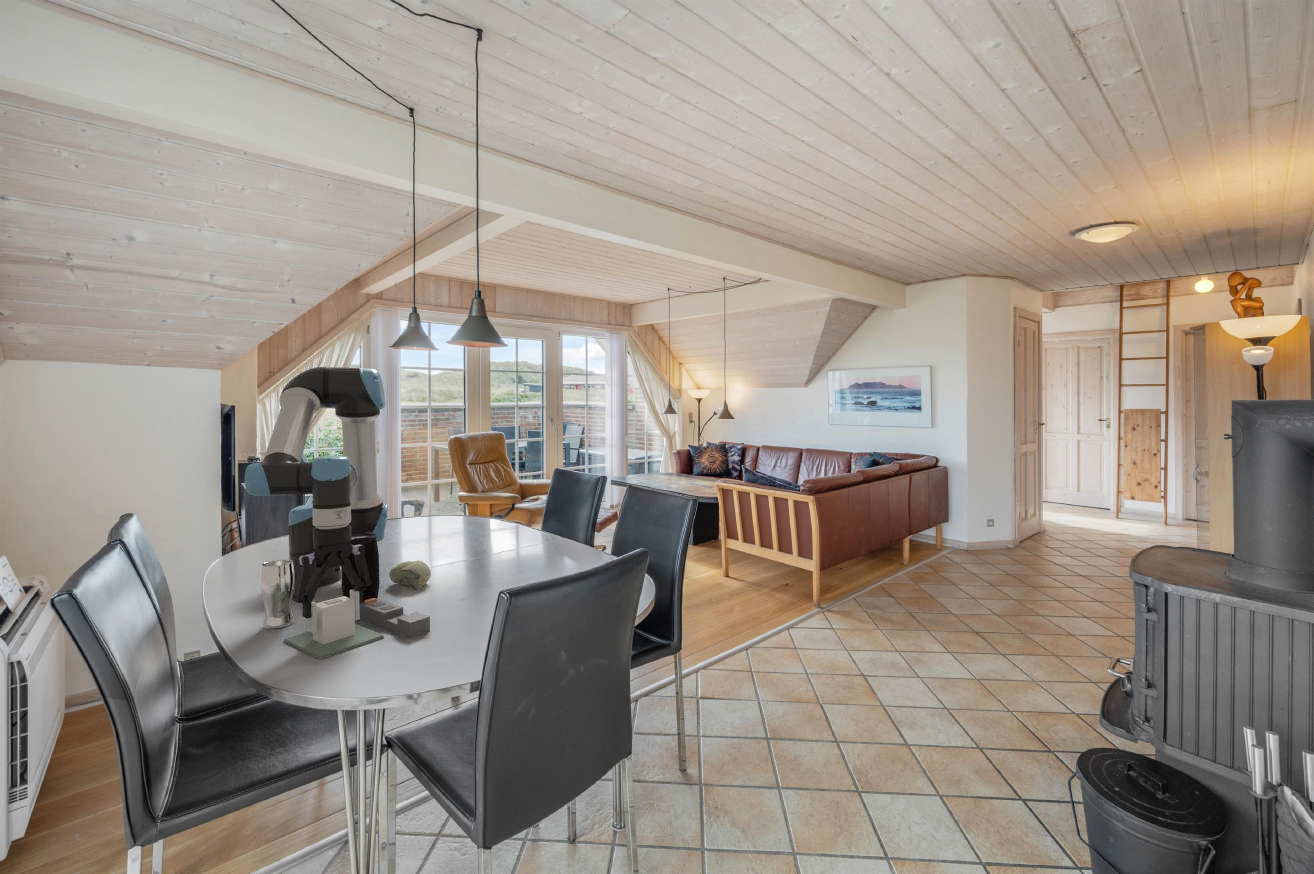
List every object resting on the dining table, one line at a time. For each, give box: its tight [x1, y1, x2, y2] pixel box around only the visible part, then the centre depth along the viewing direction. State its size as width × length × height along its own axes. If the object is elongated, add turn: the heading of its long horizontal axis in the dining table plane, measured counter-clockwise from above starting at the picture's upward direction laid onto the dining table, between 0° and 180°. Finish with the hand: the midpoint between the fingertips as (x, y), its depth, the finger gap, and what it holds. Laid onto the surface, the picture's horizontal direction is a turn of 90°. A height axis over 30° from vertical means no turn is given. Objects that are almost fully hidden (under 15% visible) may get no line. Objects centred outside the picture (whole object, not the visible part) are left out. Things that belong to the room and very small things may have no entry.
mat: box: [283, 623, 385, 660], centre depth 131 cm, size 16×14×1 cm
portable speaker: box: [340, 532, 380, 603], centre depth 152 cm, size 8×9×19 cm
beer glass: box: [259, 558, 295, 630], centre depth 139 cm, size 7×7×15 cm
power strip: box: [359, 598, 431, 638], centre depth 140 cm, size 22×5×4 cm, turn 56°
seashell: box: [389, 559, 432, 591], centre depth 171 cm, size 13×8×10 cm
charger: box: [313, 595, 356, 644], centre depth 131 cm, size 4×7×8 cm, turn 146°
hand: (333, 624), depth 131 cm, fingers open, 9 cm apart
